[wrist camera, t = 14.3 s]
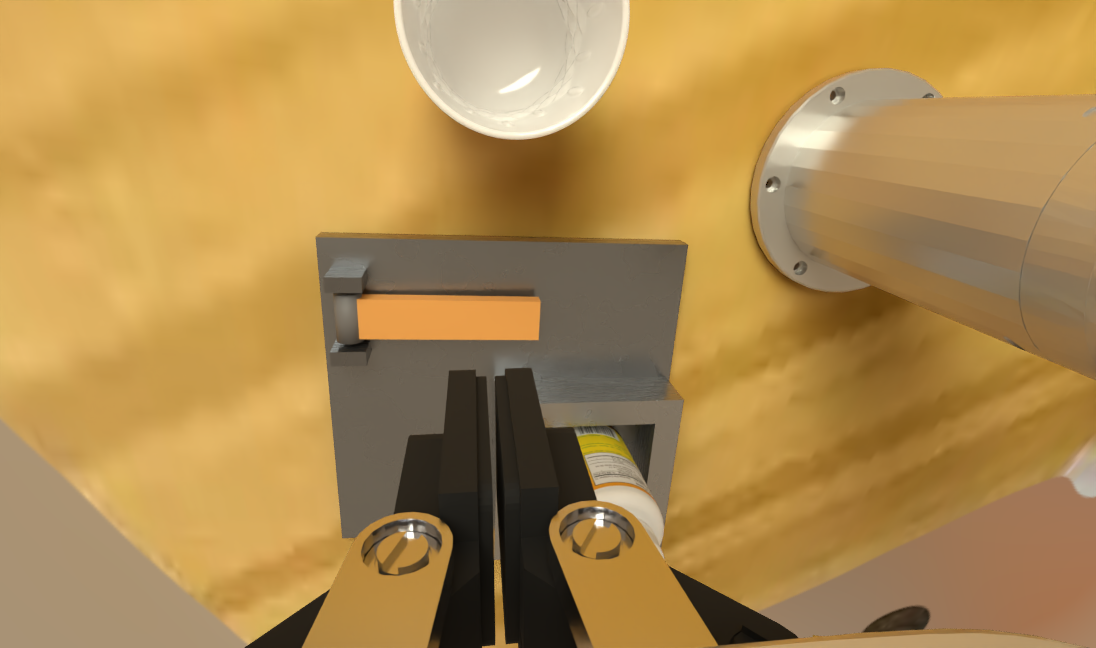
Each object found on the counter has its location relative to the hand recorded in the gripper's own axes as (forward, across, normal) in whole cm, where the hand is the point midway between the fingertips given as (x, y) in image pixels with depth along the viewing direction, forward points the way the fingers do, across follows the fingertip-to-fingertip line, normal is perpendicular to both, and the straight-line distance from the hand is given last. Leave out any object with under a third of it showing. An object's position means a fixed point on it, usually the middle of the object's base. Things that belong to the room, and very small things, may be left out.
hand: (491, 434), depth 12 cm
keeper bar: (+20, +2, +4) cm, 20 cm away
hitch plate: (+21, -1, +10) cm, 23 cm away
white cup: (+21, -1, -9) cm, 23 cm away
